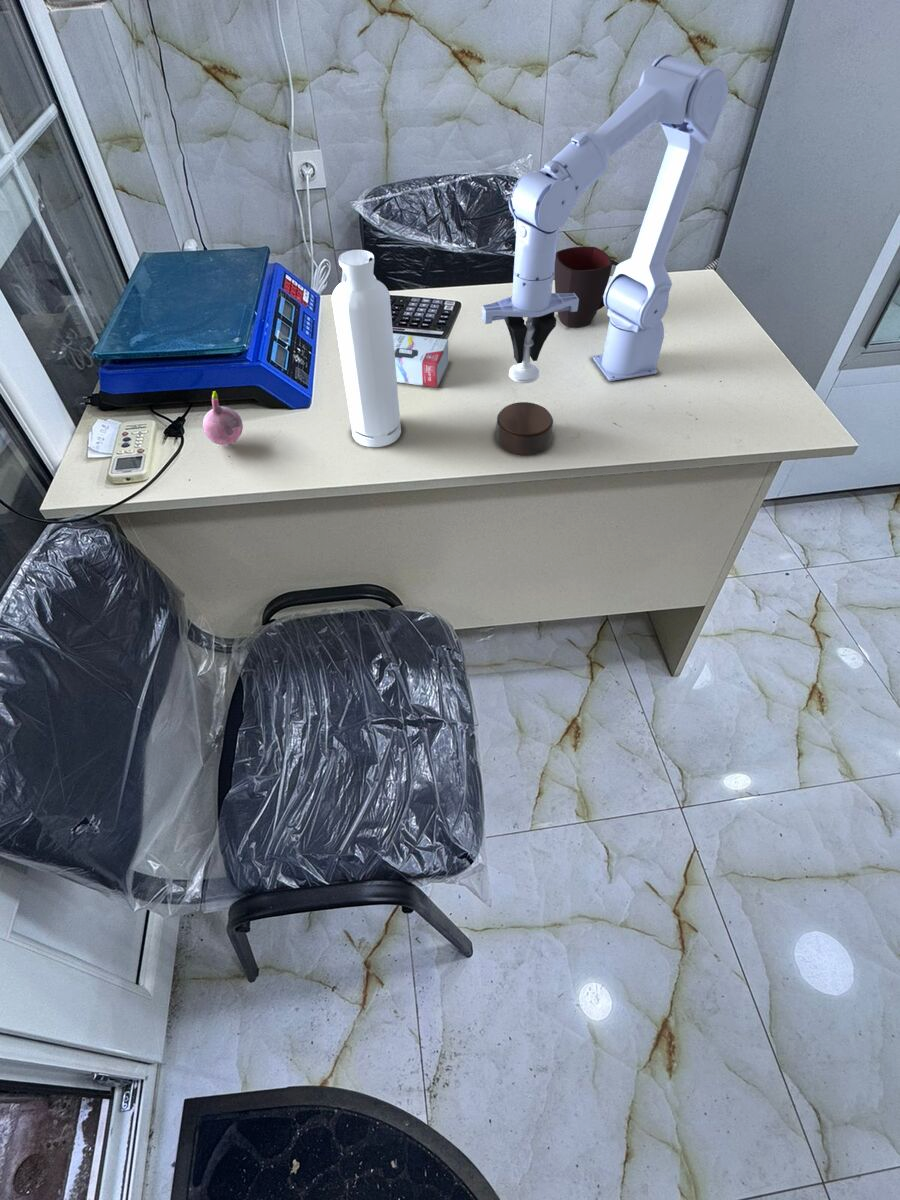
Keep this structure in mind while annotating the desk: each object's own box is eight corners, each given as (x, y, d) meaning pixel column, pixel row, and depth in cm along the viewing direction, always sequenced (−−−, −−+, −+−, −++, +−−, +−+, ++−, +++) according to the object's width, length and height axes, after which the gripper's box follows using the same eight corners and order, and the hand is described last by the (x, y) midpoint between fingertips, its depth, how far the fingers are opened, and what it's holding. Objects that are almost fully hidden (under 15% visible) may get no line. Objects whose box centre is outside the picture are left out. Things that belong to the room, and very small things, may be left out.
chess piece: (543, 370, 105) (550, 311, 97) (532, 386, 103) (539, 326, 95) (515, 363, 107) (520, 304, 99) (504, 379, 104) (508, 319, 96)
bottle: (406, 442, 105) (393, 266, 83) (357, 451, 104) (331, 275, 82) (394, 413, 110) (379, 240, 88) (348, 422, 109) (320, 248, 87)
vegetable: (234, 461, 103) (215, 407, 95) (202, 451, 104) (181, 398, 96) (255, 439, 106) (239, 385, 98) (225, 430, 108) (206, 376, 100)
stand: (539, 417, 109) (542, 397, 106) (558, 450, 104) (561, 429, 101) (489, 426, 108) (490, 405, 105) (505, 459, 102) (507, 439, 99)
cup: (542, 311, 131) (549, 250, 122) (605, 302, 133) (616, 241, 124) (560, 336, 125) (568, 273, 116) (625, 326, 127) (639, 264, 118)
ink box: (437, 364, 111) (372, 356, 112) (437, 389, 115) (374, 380, 116) (448, 338, 116) (386, 330, 118) (448, 362, 120) (388, 355, 121)
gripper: (571, 253, 95) (559, 339, 106) (477, 265, 93) (475, 352, 104) (589, 275, 91) (575, 362, 102) (491, 288, 89) (487, 375, 99)
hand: (525, 358), depth 102 cm, fingers closed on chess piece
